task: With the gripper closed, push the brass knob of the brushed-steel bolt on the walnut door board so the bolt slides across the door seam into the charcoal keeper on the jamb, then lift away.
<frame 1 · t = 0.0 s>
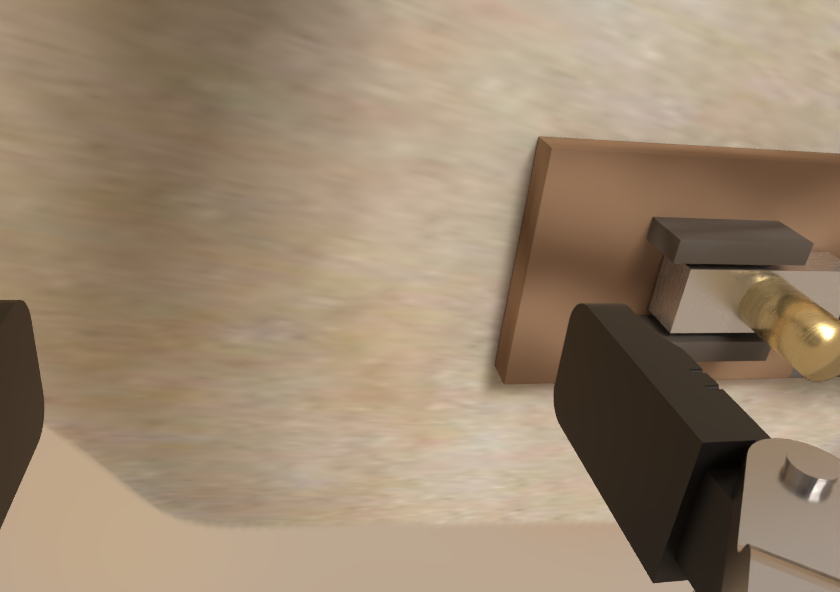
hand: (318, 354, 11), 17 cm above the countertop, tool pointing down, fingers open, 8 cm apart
door board: (737, 264, 33), on the countertop
lock bolt: (780, 314, 29), point 5 cm above the countertop, slide at 0.0 cm
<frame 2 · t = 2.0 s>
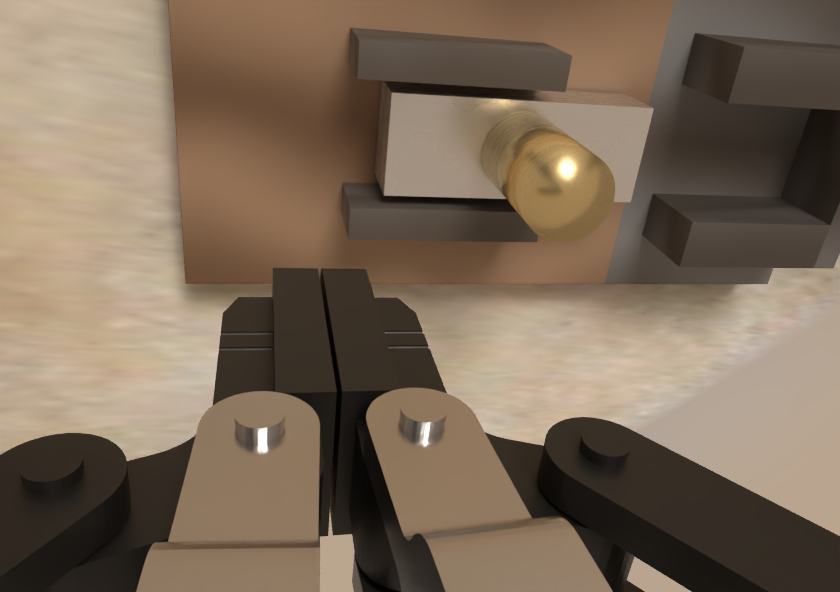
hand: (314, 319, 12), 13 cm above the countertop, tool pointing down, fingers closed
door board: (514, 122, 24), on the countertop
lock bolt: (530, 161, 20), point 5 cm above the countertop, slide at 0.0 cm
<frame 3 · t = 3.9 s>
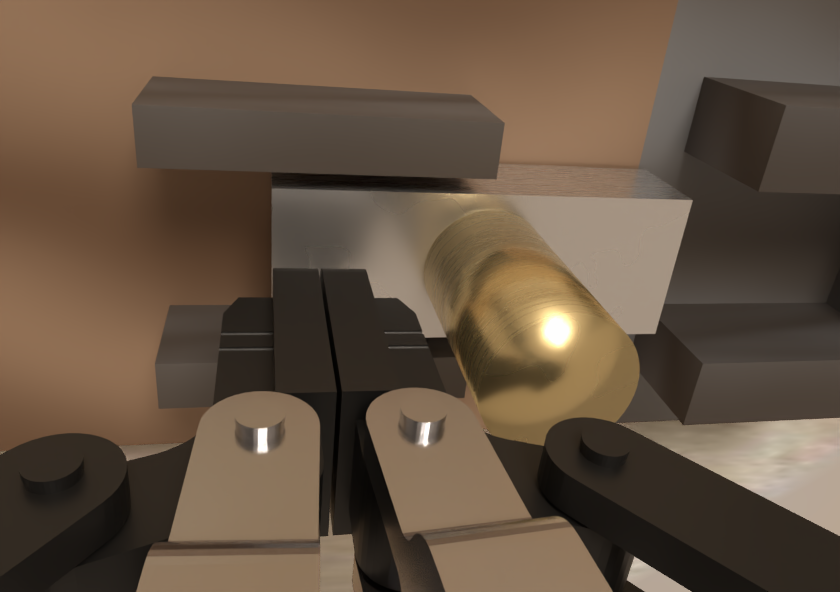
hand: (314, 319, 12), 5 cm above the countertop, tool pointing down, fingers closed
door board: (439, 204, 17), on the countertop
lock bolt: (500, 292, 13), point 5 cm above the countertop, slide at 1.1 cm, touching gripper
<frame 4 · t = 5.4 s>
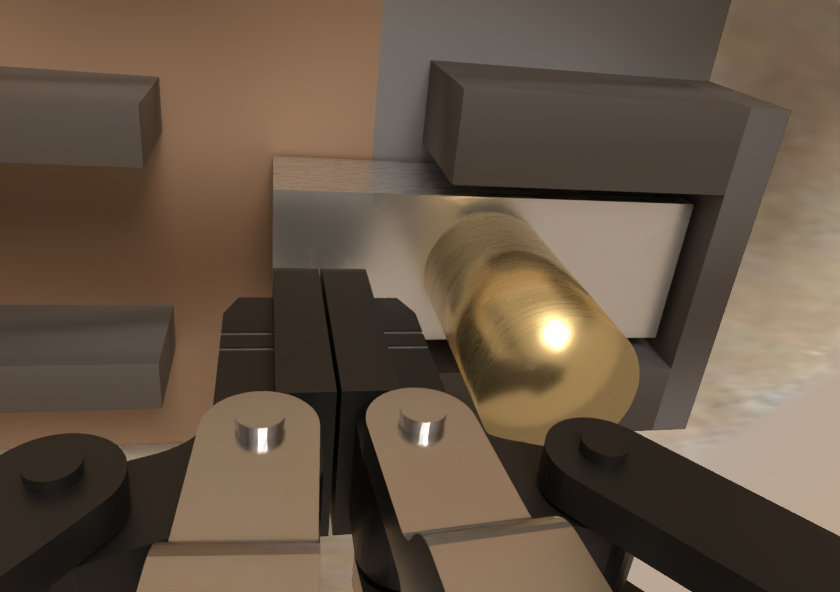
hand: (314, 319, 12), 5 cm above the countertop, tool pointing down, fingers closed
door board: (176, 197, 15), on the countertop
lock bolt: (500, 295, 13), point 5 cm above the countertop, slide at 7.0 cm, touching gripper
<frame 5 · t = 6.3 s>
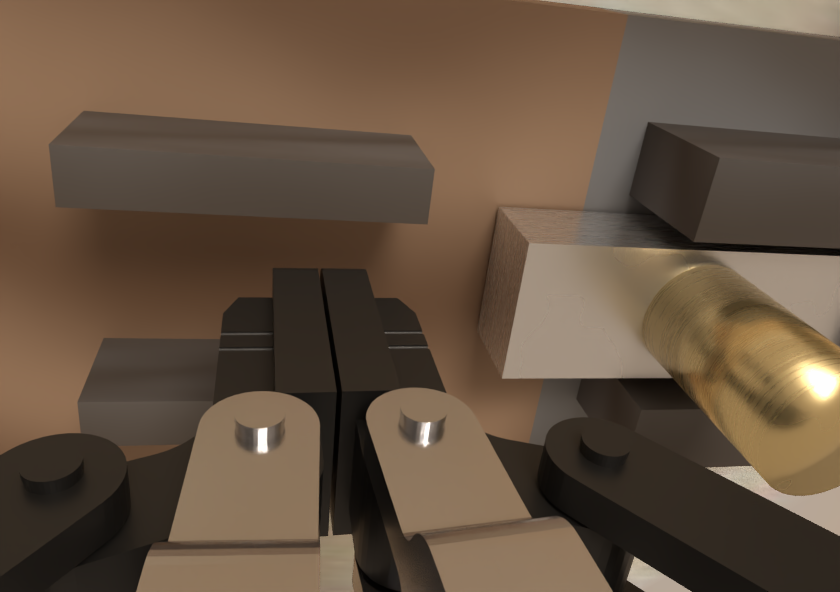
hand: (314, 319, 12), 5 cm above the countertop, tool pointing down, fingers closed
door board: (386, 239, 17), on the countertop
lock bolt: (723, 341, 14), point 5 cm above the countertop, slide at 7.0 cm
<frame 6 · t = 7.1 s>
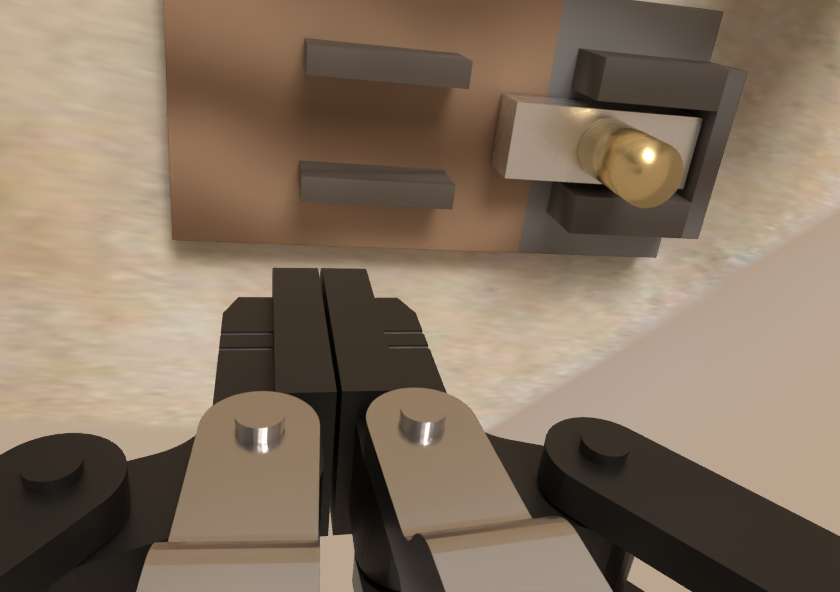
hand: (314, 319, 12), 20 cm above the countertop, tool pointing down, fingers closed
door board: (441, 117, 30), on the countertop
lock bolt: (615, 154, 28), point 5 cm above the countertop, slide at 7.0 cm
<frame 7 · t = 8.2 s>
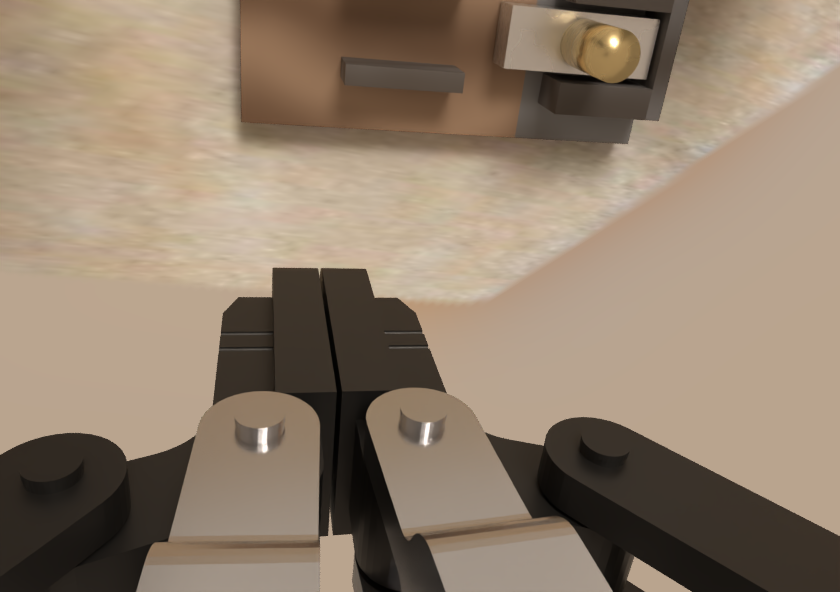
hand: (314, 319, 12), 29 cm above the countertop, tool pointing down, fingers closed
door board: (452, 24, 38), on the countertop
lock bolt: (590, 46, 35), point 5 cm above the countertop, slide at 7.0 cm
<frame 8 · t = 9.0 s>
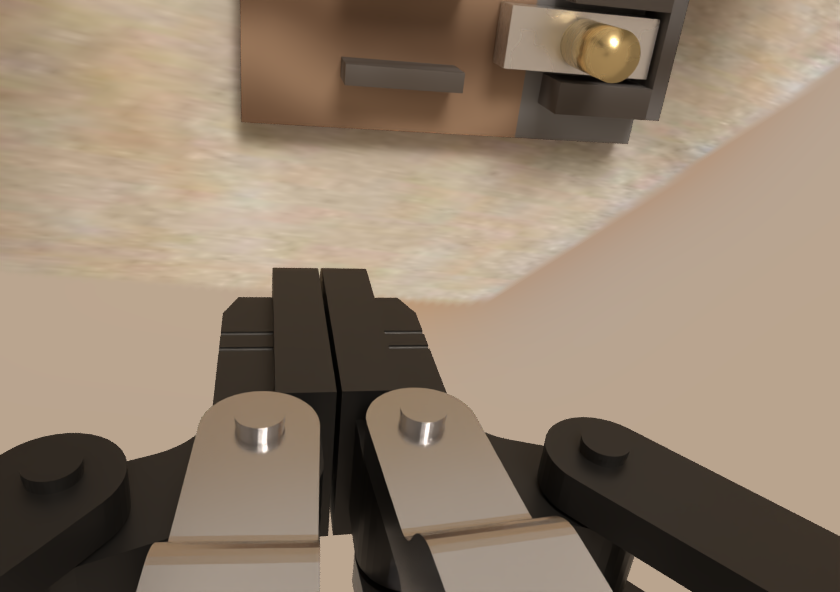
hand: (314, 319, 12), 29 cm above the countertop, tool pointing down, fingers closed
door board: (452, 24, 38), on the countertop
lock bolt: (590, 46, 35), point 5 cm above the countertop, slide at 7.0 cm
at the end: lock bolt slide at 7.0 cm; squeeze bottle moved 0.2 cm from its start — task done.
